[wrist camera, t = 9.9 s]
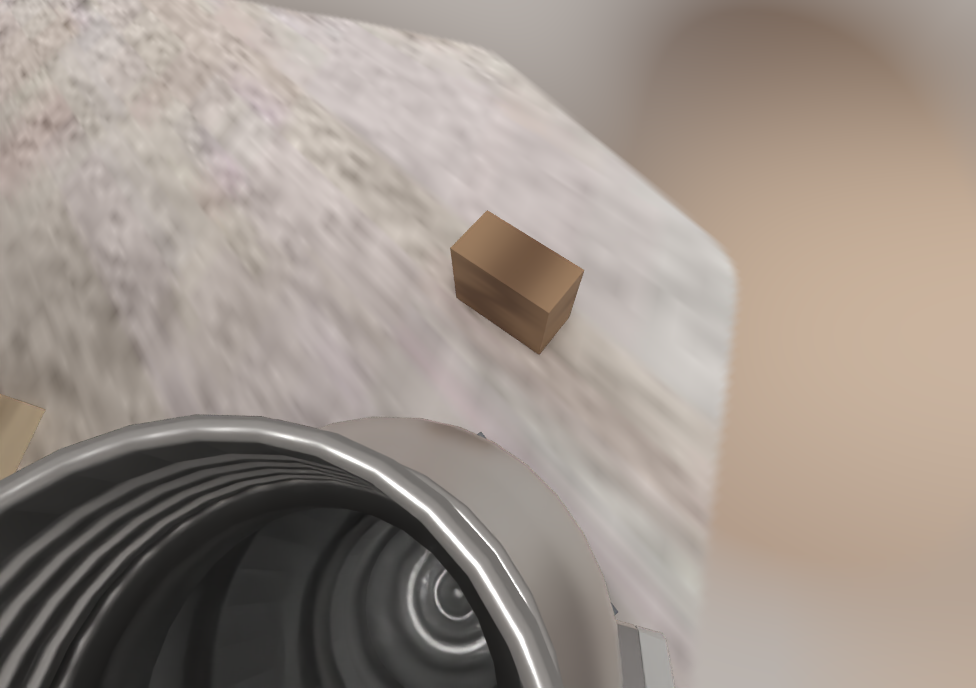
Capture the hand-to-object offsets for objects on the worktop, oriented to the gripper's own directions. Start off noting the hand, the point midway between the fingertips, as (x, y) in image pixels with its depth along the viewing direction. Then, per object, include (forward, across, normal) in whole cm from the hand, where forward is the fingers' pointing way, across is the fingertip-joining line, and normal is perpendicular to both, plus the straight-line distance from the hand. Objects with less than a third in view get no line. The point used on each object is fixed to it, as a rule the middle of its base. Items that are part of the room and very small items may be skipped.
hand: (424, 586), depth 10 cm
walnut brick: (+20, +1, 0) cm, 20 cm away
